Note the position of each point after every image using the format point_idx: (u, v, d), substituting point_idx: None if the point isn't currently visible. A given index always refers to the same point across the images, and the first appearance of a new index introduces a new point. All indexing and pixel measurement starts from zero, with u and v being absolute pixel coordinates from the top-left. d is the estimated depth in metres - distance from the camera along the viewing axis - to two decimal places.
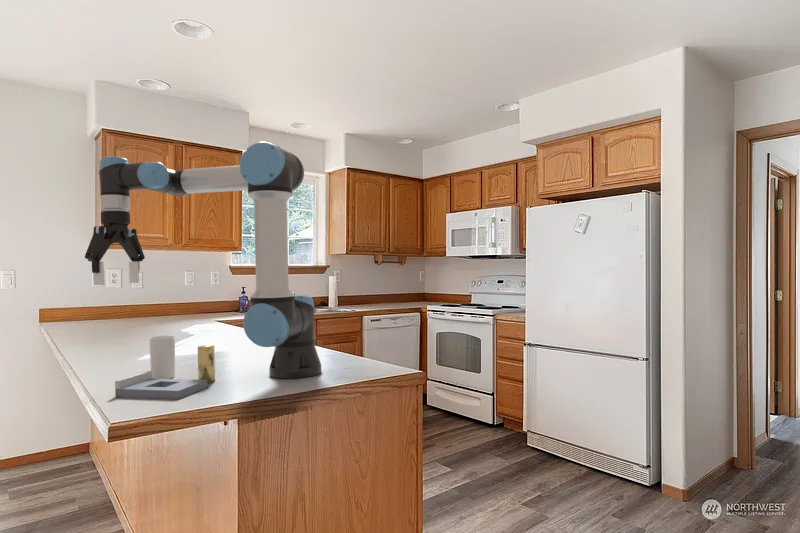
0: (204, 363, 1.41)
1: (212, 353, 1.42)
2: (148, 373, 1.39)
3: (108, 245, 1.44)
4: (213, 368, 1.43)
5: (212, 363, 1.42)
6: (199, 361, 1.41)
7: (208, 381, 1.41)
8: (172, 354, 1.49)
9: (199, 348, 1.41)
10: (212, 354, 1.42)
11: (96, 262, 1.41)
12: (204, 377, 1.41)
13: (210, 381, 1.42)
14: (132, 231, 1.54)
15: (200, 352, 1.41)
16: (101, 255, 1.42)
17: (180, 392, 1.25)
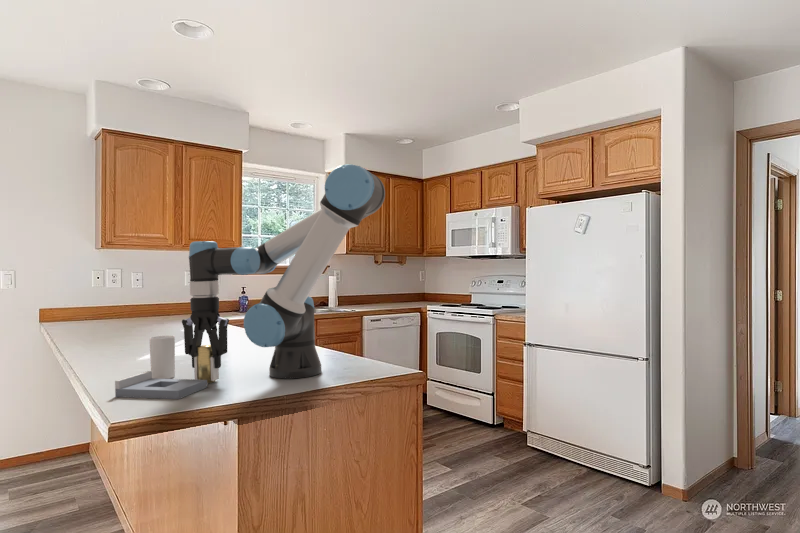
0: (204, 363, 1.41)
1: (212, 353, 1.42)
2: (148, 373, 1.39)
3: (196, 336, 1.42)
4: None
5: None
6: (199, 361, 1.41)
7: (208, 381, 1.41)
8: (172, 354, 1.49)
9: (199, 348, 1.41)
10: (212, 354, 1.42)
11: (192, 357, 1.43)
12: (204, 377, 1.41)
13: (210, 381, 1.42)
14: None
15: (200, 352, 1.41)
16: (193, 350, 1.43)
17: (180, 392, 1.25)
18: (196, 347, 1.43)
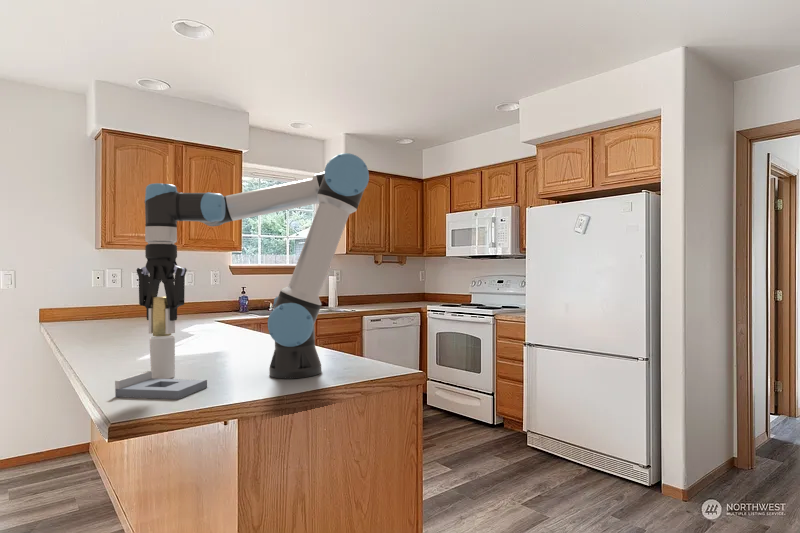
0: (158, 315, 1.31)
1: None
2: (148, 373, 1.39)
3: (151, 286, 1.32)
4: None
5: None
6: (153, 312, 1.31)
7: (163, 334, 1.31)
8: (172, 354, 1.49)
9: (154, 298, 1.31)
10: None
11: (147, 309, 1.33)
12: (158, 329, 1.31)
13: (165, 334, 1.32)
14: None
15: (155, 302, 1.31)
16: (148, 301, 1.33)
17: (180, 392, 1.25)
18: (151, 298, 1.33)
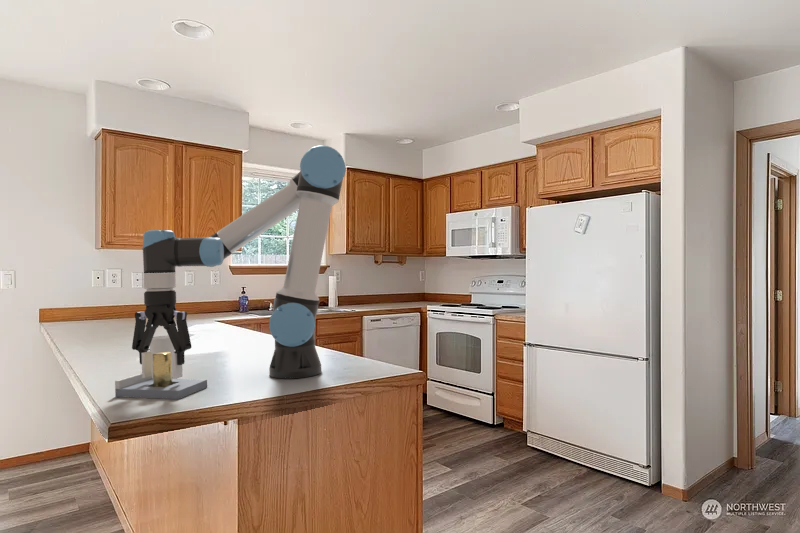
0: (159, 372, 1.30)
1: (168, 361, 1.32)
2: None
3: (147, 332, 1.32)
4: (169, 377, 1.32)
5: (168, 372, 1.32)
6: (154, 370, 1.31)
7: None
8: (172, 354, 1.49)
9: (154, 355, 1.31)
10: (168, 362, 1.32)
11: (140, 353, 1.33)
12: None
13: None
14: None
15: (155, 359, 1.30)
16: (141, 345, 1.32)
17: (180, 392, 1.25)
18: (145, 343, 1.32)
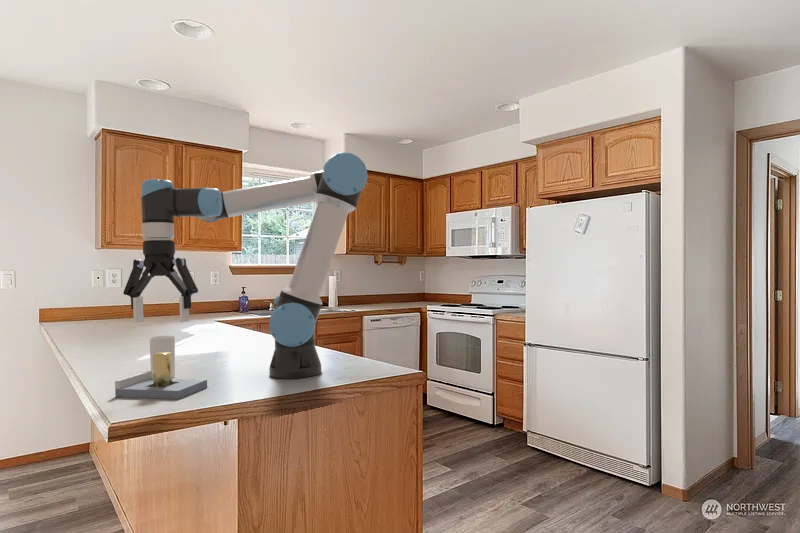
0: (159, 372, 1.30)
1: (168, 361, 1.32)
2: (148, 373, 1.39)
3: (142, 279, 1.32)
4: (169, 377, 1.32)
5: (168, 372, 1.32)
6: (154, 370, 1.31)
7: None
8: (172, 354, 1.49)
9: (154, 355, 1.31)
10: (168, 362, 1.32)
11: (131, 298, 1.33)
12: None
13: None
14: None
15: (155, 359, 1.30)
16: (134, 291, 1.33)
17: (180, 392, 1.25)
18: (138, 289, 1.33)
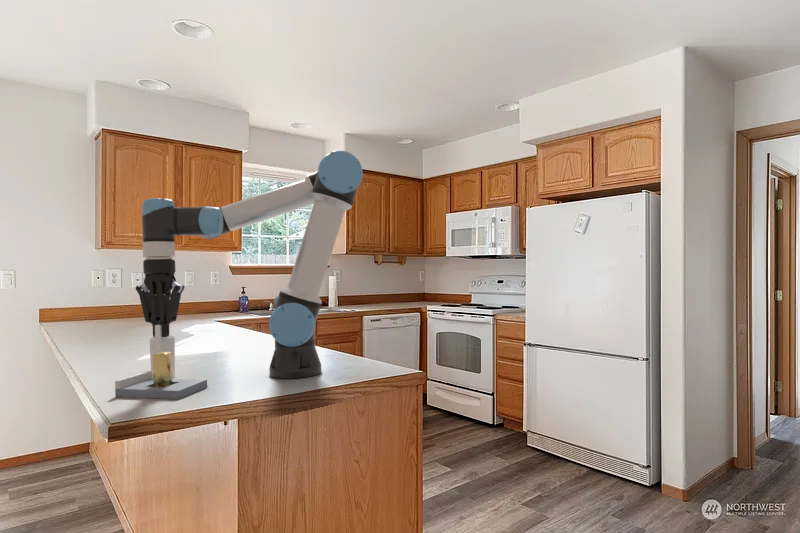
0: (159, 372, 1.30)
1: (168, 361, 1.32)
2: (148, 373, 1.39)
3: (153, 302, 1.31)
4: (169, 377, 1.32)
5: (168, 372, 1.32)
6: (154, 370, 1.31)
7: None
8: (172, 354, 1.49)
9: (154, 355, 1.31)
10: (168, 362, 1.32)
11: (153, 325, 1.32)
12: None
13: None
14: None
15: (155, 359, 1.30)
16: (153, 317, 1.31)
17: (180, 392, 1.25)
18: (156, 314, 1.32)
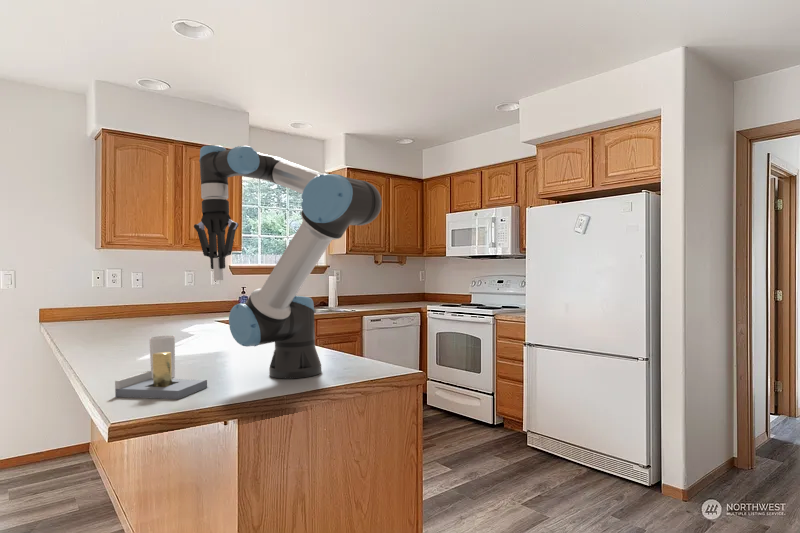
0: (159, 372, 1.30)
1: (168, 361, 1.32)
2: (148, 373, 1.39)
3: (211, 238, 1.48)
4: (169, 377, 1.32)
5: (168, 372, 1.32)
6: (154, 370, 1.31)
7: None
8: (172, 354, 1.49)
9: (154, 355, 1.31)
10: (168, 362, 1.32)
11: (211, 259, 1.49)
12: None
13: None
14: None
15: (155, 359, 1.30)
16: (211, 251, 1.48)
17: (180, 392, 1.25)
18: (213, 248, 1.49)
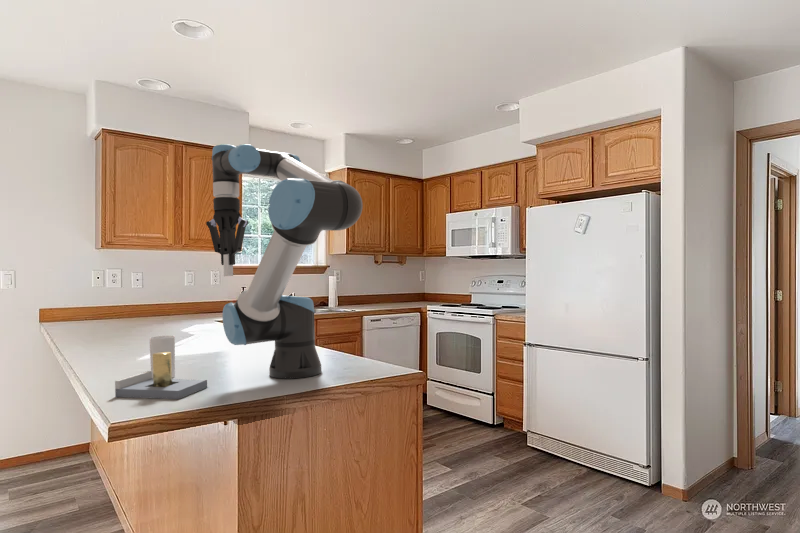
0: (159, 372, 1.30)
1: (168, 361, 1.32)
2: (148, 373, 1.39)
3: (221, 235, 1.53)
4: (169, 377, 1.32)
5: (168, 372, 1.32)
6: (154, 370, 1.31)
7: None
8: (172, 354, 1.49)
9: (154, 355, 1.31)
10: (168, 362, 1.32)
11: (221, 255, 1.53)
12: None
13: None
14: None
15: (155, 359, 1.30)
16: (221, 248, 1.53)
17: (180, 392, 1.25)
18: (224, 245, 1.53)
